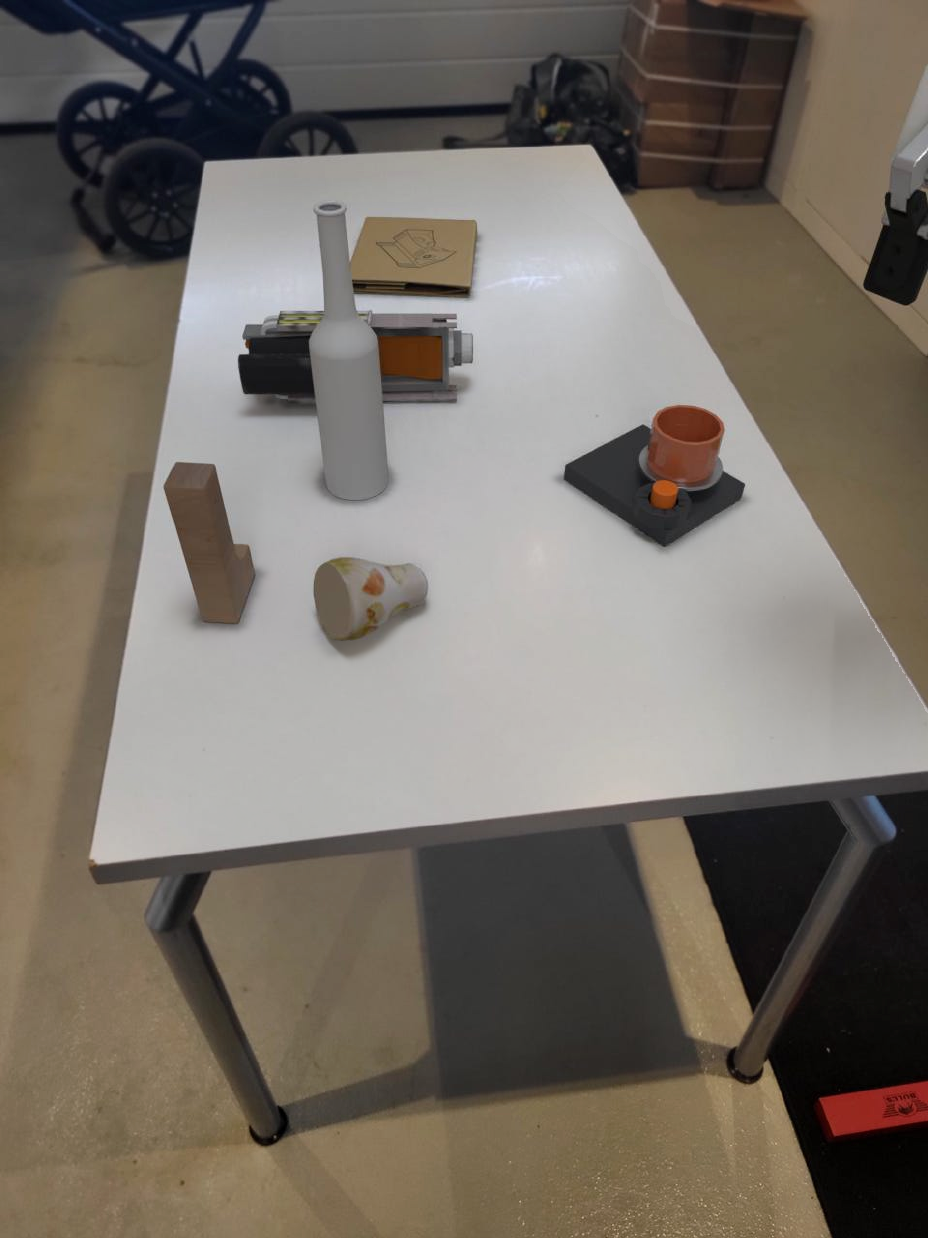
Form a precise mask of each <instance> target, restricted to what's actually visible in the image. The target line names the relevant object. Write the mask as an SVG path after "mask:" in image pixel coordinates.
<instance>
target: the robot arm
mask: <svg viewBox="0 0 928 1238" xmlns="http://www.w3.org/2000/svg"><path fill="white" fill-rule="evenodd" d="M890 162H891V163H890V174H889V187H888V192H887V191H886V193H885V194H884V208H885V209H884V211H883V213H882V214H881V215H882V216H881V220H880V222H881V224H882V227H881V230H880V233H879V235H878V238H877V242H876V245H875V247H874V250H873V253H872V256H871V259H870V262H869V264H868V268H867V271H866V273H865V276H864V279H863V283H862V286H863V289H864V290H865V291H867V292H869V293H871V294H874V295H877V296H879V297H881V298H884V299H886V300H889V301H891V302H894V303H897V304H898V305H901V306H905V307H906V306H910V305H911V304H913V303H915V301H917V299H918V296H919V294H920V291H921V289H922V286H923V283H924V281H925V278H926V276H927V273H928V196H927V192H926V191H923V190H922V188H924V189H927V190H928V62H926V65H925V68H924V70H923V72H922V75H921V78H920V81H919V83H918V86H917V88H916V91H915V93H914V95H913V99H912V102H911V104H910V106H909V109H908V112H907V114H906V118H905V119H904V123H903V126H902V128H901V131H900V134H899V137H898V139H897V143H896V145H895V148H894V151H893V154H892V157H891V161H890Z"/></svg>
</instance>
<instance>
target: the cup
mask: <svg viewBox="0 0 928 1238" xmlns="http://www.w3.org/2000/svg"><path fill="white" fill-rule="evenodd" d="M650 429H651V432H650V437H649V443H648V448H647V456H646V461H647V464H648V466H649V468H650V469H651V470H652V471H653V472H654V473H656V474H657V475H659V476H661V477H663V478H665V479H668V480H671V481H675V482H683V483H690V482H697V481H701V480H704V479H706V478H707V477H709V476H710V475H711V474H712V473H713V471H714V468H715V465H716V463H717V459H718V457H719V455H720V451H721V446H722V443H723V439H724V436H725V431H726V430H725V424H724V422H723V420H722V419H721V418H720V417H719V416H718V415H717V414H716V413H714V412H712V411H710V410H708V409H707V408H703V407H700V406H697V405H696V406H695V405H689V404H675V405H671V406H665V407H663V408H662V409H660V410H658V411H657V412H656V413H655V415H654V416H653V418H652V422H651V427H650Z"/></svg>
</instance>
